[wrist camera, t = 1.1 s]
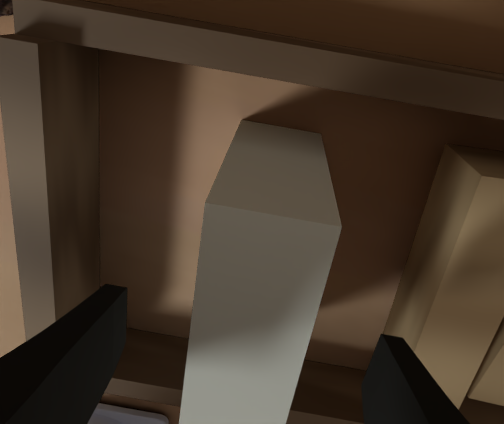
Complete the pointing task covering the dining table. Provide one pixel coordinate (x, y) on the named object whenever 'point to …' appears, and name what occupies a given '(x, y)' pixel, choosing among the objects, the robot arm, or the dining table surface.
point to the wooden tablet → (6, 7)
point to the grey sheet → (259, 276)
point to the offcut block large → (455, 270)
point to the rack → (87, 162)
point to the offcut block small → (490, 372)
